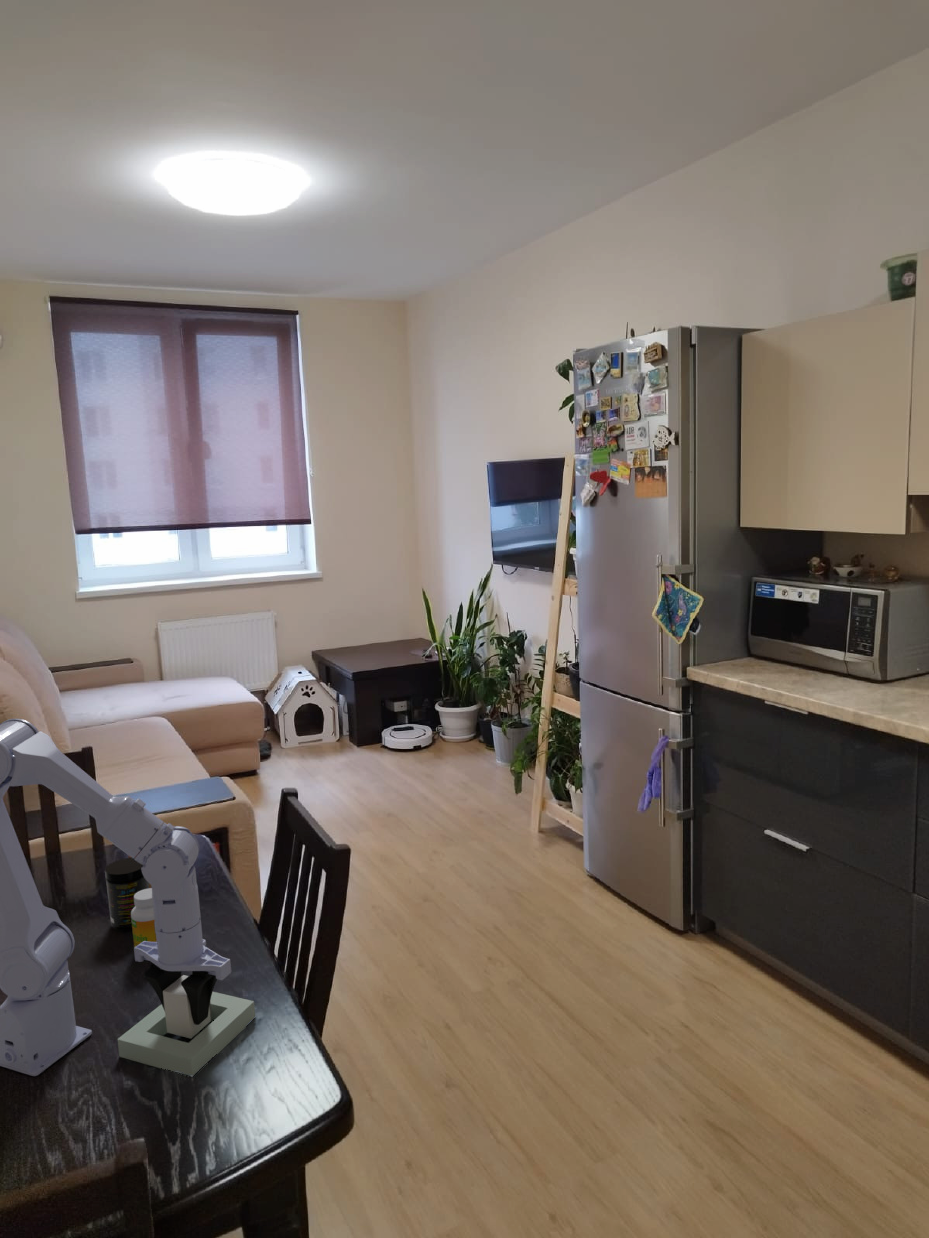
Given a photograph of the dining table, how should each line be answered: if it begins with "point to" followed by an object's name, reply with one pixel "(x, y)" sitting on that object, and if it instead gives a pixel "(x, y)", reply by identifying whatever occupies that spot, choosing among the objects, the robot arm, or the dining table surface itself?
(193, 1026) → the plug
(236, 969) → the dining table surface
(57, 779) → the robot arm
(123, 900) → the supplement container
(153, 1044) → the socket board
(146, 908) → the supplement bottle
